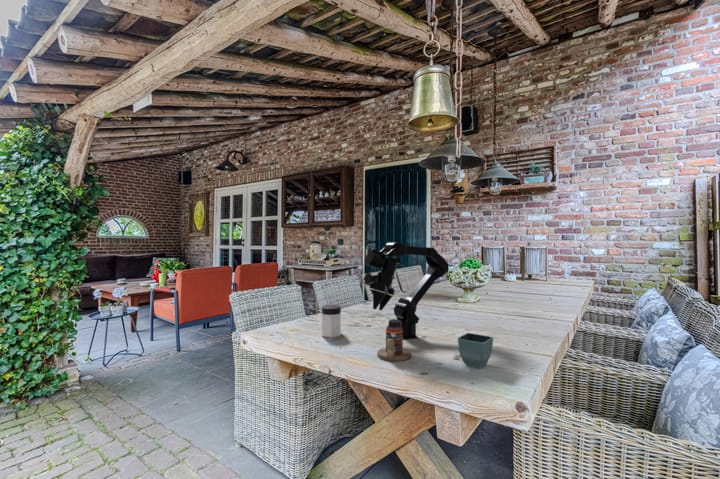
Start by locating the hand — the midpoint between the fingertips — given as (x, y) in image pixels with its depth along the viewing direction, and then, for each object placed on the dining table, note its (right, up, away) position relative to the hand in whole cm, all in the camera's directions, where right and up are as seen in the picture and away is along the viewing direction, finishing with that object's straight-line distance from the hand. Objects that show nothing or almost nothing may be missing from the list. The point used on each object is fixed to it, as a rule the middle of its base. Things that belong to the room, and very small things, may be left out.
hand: (377, 309), depth 138 cm
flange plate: (+5, -13, -16) cm, 21 cm away
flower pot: (+31, -13, -25) cm, 42 cm away
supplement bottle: (+5, -12, -16) cm, 21 cm away
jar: (-19, -13, +10) cm, 25 cm away
